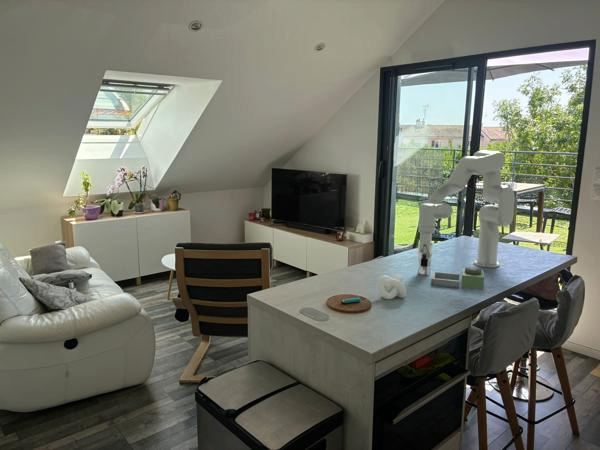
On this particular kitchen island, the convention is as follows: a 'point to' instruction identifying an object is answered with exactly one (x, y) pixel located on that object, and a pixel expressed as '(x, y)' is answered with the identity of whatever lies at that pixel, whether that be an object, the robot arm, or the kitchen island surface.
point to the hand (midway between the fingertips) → (424, 264)
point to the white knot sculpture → (391, 287)
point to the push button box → (470, 278)
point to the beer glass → (427, 269)
